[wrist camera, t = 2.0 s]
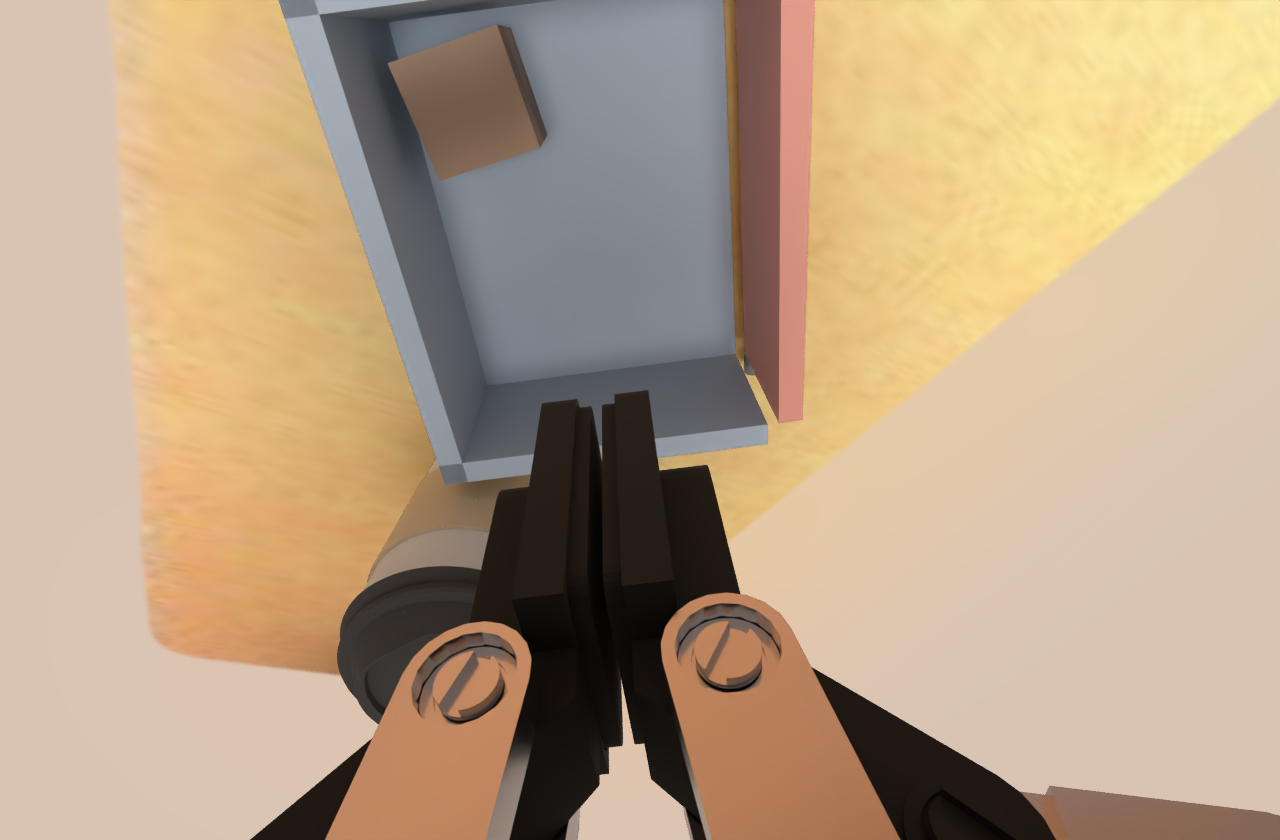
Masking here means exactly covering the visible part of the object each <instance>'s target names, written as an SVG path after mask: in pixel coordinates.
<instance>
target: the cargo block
mask: <svg viewBox="0 0 1280 840" xmlns="http://www.w3.org/2000/svg"><path fill="white" fill-rule="evenodd" d="M388 66H389V68H390V70H391V72H392V75H393V77H394V79H395V82H396V84H397V86H398V88H399V91H400V93H401V95H402V97H403V100H404V102H405V104H406V106H407V109H408V111H409V113H410V116H411V118H412V120H413V122H414V125H415V127H416V129H417V131H418V134H419V136H420V138H421V140H422V143H423V145H424V147H425V149H426V152H427V154H428V156H429V159H430V161H431V163H432V165H433V168H434V170H435V172H436V174H437V177H438V179H439V181H442V180H445V179H448V178H451V177H454V176H457V175H460V174H463V173H466V172H469V171H472V170H475V169H478V168H481V167H484V166H487V165H490V164H493V163H496V162H499V161H502V160H505V159H508V158H511V157H514V156H517V155H520V154H523V153H526V152H529V151H532V150H535V149H538V148H540V147H541V145H542V143H543V142H544V140H545V138H546V136H547V132H546V129H545V126H544V123H543V120H542V117H541V115H540V112H539V109H538V106H537V103H536V100H535V97H534V94H533V91H532V88H531V85H530V82H529V79H528V76H527V73H526V71H525V68H524V65H523V62H522V59H521V56H520V53H519V50H518V47H517V44H516V41H515V38H514V35H513V32H512V30H511V27H506V26H501V25H494V26H491V27H489V28H486V29H483V30H480V31H477V32H475V33H472V34H469V35H466V36H463V37H460V38H458V39H455V40H452V41H449V42H446V43H444V44H441V45H438V46H435V47H432V48H429V49H427V50H424V51H421V52H418V53H415V54H413V55H410V56H407V57H404V58H401V59H399V60H396V61H393V62H390V63H388Z"/></svg>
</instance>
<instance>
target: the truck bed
mask: <svg viewBox="0 0 1280 840" xmlns="http://www.w3.org/2000/svg"><path fill="white" fill-rule="evenodd" d="M279 3H280V6H281V9H282V12H283V15H284V18H285V20H286V23H287V26H288V29H289V32H290V35H291V38H292V41H293V44H294V47H295V50H296V52H297V55H298V58H299V61H300V64H301V67H302V70H303V73H304V76H305V79H306V82H307V84H308V87H309V90H310V93H311V96H312V99H313V102H314V105H315V108H316V111H317V113H318V116H319V119H320V122H321V125H322V128H323V131H324V134H325V137H326V140H327V143H328V145H329V148H330V151H331V154H332V157H333V160H334V163H335V166H336V169H337V172H338V175H339V177H340V180H341V183H342V186H343V189H344V192H345V195H346V198H347V201H348V204H349V207H350V209H351V212H352V215H353V218H354V221H355V224H356V227H357V230H358V233H359V236H360V239H361V241H362V244H363V247H364V250H365V253H366V256H367V259H368V262H369V265H370V268H371V271H372V273H373V276H374V279H375V282H376V285H377V288H378V291H379V294H380V297H381V300H382V303H383V305H384V308H385V311H386V314H387V317H388V320H389V323H390V326H391V329H392V332H393V335H394V337H395V340H396V343H397V346H398V349H399V352H400V355H401V358H402V361H403V364H404V367H405V369H406V372H407V375H408V378H409V381H410V384H411V387H412V390H413V393H414V396H415V398H416V401H417V404H418V407H419V410H420V413H421V416H422V419H423V422H424V425H425V428H426V430H427V433H428V436H429V439H430V442H431V445H432V448H433V451H434V454H435V457H436V460H437V462H438V465H439V468H440V471H441V474H442V477H443V480H444V483H445V485H449V484H457V483H465V482H473V481H481V480H488V479H496V478H504V477H512V476H520V475H528V474H531V469H532V463H533V456H534V450H535V444H536V437H537V431H538V424H539V418H540V412H541V406H542V403H547V402H555V401H563V400H571V399H577V400H578V402H579V406H580V407H588V406H592V409H593V414H594V419H595V425H596V430H597V436H598V442H599V447H600V453H601V459H602V405H605V404H613V403H615V401H614V394H620V393H628V392H636V391H644V390H648V392H649V399H650V406H651V414H652V421H653V428H654V436H655V443H656V451H657V458H662V457H670V456H678V455H686V454H694V453H702V452H710V451H717V450H725V449H733V448H741V447H749V446H757V445H765V444H768V424H767V422H766V420H765V418H764V415H763V413H762V411H761V409H760V407H759V404H758V402H757V400H756V398H755V396H754V393H753V391H752V389H751V387H750V385H749V382H748V380H747V378H746V376H745V373H746V374H748V375H755V373H754V371H753V369H752V367H751V364H750V362H749V360H748V358H747V356H746V355H745V356H744V371H745V373H744V371H743V369H742V367H741V365H740V362H739V360H738V358H737V356H736V347H735V318H734V289H733V260H732V231H731V202H730V173H729V144H728V115H727V86H726V57H725V28H724V0H279ZM494 25H501V26H506V27H511V30H512V32H513V35H514V38H515V41H516V44H517V47H518V50H519V53H520V56H521V59H522V62H523V65H524V68H525V71H526V73H527V76H528V79H529V82H530V85H531V88H532V91H533V94H534V97H535V100H536V103H537V106H538V109H539V112H540V115H541V117H542V120H543V123H544V126H545V129H546V132H547V136H546V138H545V140H544V142H543V143H542V145H541V147H540V148H538V149H535V150H532V151H529V152H526V153H523V154H520V155H517V156H514V157H511V158H508V159H505V160H502V161H499V162H496V163H493V164H490V165H487V166H484V167H481V168H478V169H475V170H472V171H469V172H466V173H463V174H460V175H457V176H454V177H451V178H448V179H445V180H442V181H439V179H438V177H437V174H436V172H435V170H434V168H433V165H432V163H431V161H430V159H429V156H428V154H427V152H426V149H425V147H424V145H423V143H422V140H421V138H420V136H419V134H418V131H417V129H416V127H415V125H414V122H413V120H412V118H411V116H410V113H409V111H408V109H407V106H406V104H405V102H404V100H403V97H402V95H401V93H400V91H399V88H398V86H397V84H396V82H395V79H394V77H393V75H392V72H391V70H390V68H389V66H388V63H390V62H393V61H396V60H399V59H401V58H404V57H407V56H410V55H413V54H415V53H418V52H421V51H424V50H427V49H429V48H432V47H435V46H438V45H441V44H444V43H446V42H449V41H452V40H455V39H458V38H460V37H463V36H466V35H469V34H472V33H475V32H477V31H480V30H483V29H486V28H489V27H491V26H494Z"/></svg>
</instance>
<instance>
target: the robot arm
mask: <svg viewBox="0 0 1280 840" xmlns="http://www.w3.org/2000/svg"><path fill="white" fill-rule="evenodd" d="M614 401H615V403H613V404H605V405H602V459H601V453H600V447H599V442H598V436H597V430H596V425H595V419H594V414H593V409H592V406H588V407H580V406H579V402H578V400H577V399H571V400H563V401H555V402H547V403H542V406H541V412H540V418H539V424H538V431H537V437H536V444H535V450H534V456H533V463H532V469H531V476H530V482H529V487H521V488H513V489H505V490H501V491H500V492H499V493H498V496H497V499H496V504H495V508H494V513H493V517H492V522H491V526H490V531H489V535H488V540H487V544H486V549H485V554H484V558H483V563H482V567H481V572H480V576H479V581H478V585H477V590H476V594H475V599H474V603H473V608H472V612H471V617H470V621H469V623H468V624H464V625H461V626H459V627H456V628H453V629H451V630H448V631H446V632H444V633H443V634H441V635H439V636H438V637H436V638H435V639H433V640H432V641H430V642H428V643H427V644H426V645H425V646H424V647H423V648H422V649H421V650H420V651H419V652H418V653H417V654H416V655H415V656H414V657H413V659H412V660H411V662H410V663H409V665H408V666H407V668H406V670H405V671H404V673H403V674H402V676H401V678H400V680H399V683H398V685H397V687H396V689H395V691H394V693H393V695H392V698H391V700H390V702H389V704H388V706H387V708H386V710H385V713H384V715H383V717H382V719H381V721H380V723H379V725H378V728H377V730H376V732H375V734H374V736H373V738H372V739H371V740H370V741H368V742H367V743H366V744H365V745H364V746H362V747H361V748H360V749H359V750H358V751H356V752H355V753H354V754H353V755H351V756H350V757H349V758H348V759H347V760H345V761H344V762H343V763H342V764H341V765H340V766H338V767H337V768H336V769H335V770H333V771H332V772H331V773H330V774H329V775H327V776H326V777H325V778H324V779H323V780H322V781H320V782H319V783H318V784H317V785H315V786H314V787H313V788H312V789H311V790H310V791H308V792H307V793H306V794H305V795H303V796H302V797H301V798H300V799H299V800H297V801H296V802H295V803H294V804H293V805H291V806H290V807H289V808H288V809H287V810H285V811H284V812H283V813H282V814H281V815H279V816H278V817H277V818H276V819H274V820H273V821H272V822H271V823H270V824H268V825H267V826H266V827H265V828H264V829H263V830H261V831H260V832H259V833H258V834H256V835H255V836H254V837H253V838H252V839H251V840H577V838H578V832H579V814H580V810H579V808H580V807H581V806H582V805H583V803H584V802H585V801H586V800H587V799H588V798H589V796H590V795H591V794H592V793H593V792H594V791H595V790H596V788H597V787H598V786H599V775H601V774H609V747H616V746H622V744H623V727H622V696H621V695H622V694H621V680H622V684H623V689H624V694H625V699H626V704H627V709H628V714H629V719H630V724H631V728H632V734H633V739H634V743H635V744H643V743H644V744H645V749H646V754H647V760H648V765H649V770H650V776H651V779H652V780H653V781H654V782H655V783H656V784H658V785H659V786H660V787H661V788H662V789H663V790H665V791H666V792H667V793H668V794H669V795H671V796H672V797H673V798H674V799H675V800H676V801H678V802H679V803H680V804H681V805H682V806H683V808H684V815H685V819H686V823H687V827H688V831H689V835H690V839H691V840H1280V816H1279V815H1275V814H1271V813H1268V812H1260V811H1253V810H1244V809H1236V808H1228V807H1220V806H1212V805H1203V804H1195V803H1186V802H1178V801H1170V800H1162V799H1154V798H1146V797H1138V796H1128V795H1121V794H1113V793H1105V792H1096V791H1088V790H1080V789H1072V788H1064V787H1055V786H1049V788H1048V790H1047V792H1046V794H1045V795H1042V794H1034V793H1026V792H1019V791H1018V790H1016V789H1015V788H1014V787H1012V786H1011V785H1009V784H1008V783H1007V782H1006V781H1004V780H1003V779H1001V778H1000V777H999V776H997V775H996V774H994V773H992V772H990V771H989V770H987V769H985V768H984V767H982V766H980V765H978V764H977V763H975V762H973V761H972V760H970V759H968V758H967V757H965V756H963V755H961V754H960V753H958V752H956V751H955V750H953V749H951V748H949V747H948V746H946V745H944V744H943V743H940V742H939V741H937V740H936V739H934V738H932V737H930V736H929V735H927V734H925V733H924V732H922V731H920V730H918V729H917V728H915V727H913V726H912V725H910V724H908V723H906V722H905V721H903V720H901V719H899V718H898V717H896V716H894V715H893V714H891V713H889V712H888V711H886V710H884V709H882V708H881V707H879V706H877V705H876V704H874V703H872V702H870V701H869V700H867V699H865V698H863V697H862V696H860V695H858V694H857V693H855V692H853V691H851V690H850V689H848V688H846V687H845V686H843V685H841V684H840V683H838V682H836V681H834V680H833V679H831V678H829V677H827V676H826V675H824V674H822V673H821V672H819V671H817V670H816V669H814V668H812V667H811V666H810V664H809V662H808V660H807V658H806V656H805V654H804V652H803V650H802V648H801V646H800V644H799V642H798V640H797V638H796V637H795V635H794V633H793V631H792V629H791V628H790V626H789V625H788V624H787V622H786V621H785V619H784V618H783V617H782V615H781V614H780V613H779V612H777V611H776V610H775V609H773V608H772V607H770V606H769V605H768V604H767V603H765V602H763V601H760V600H758V599H755V598H753V597H750V596H748V595H741V594H740V591H739V587H738V583H737V579H736V575H735V571H734V567H733V563H732V559H731V555H730V551H729V547H728V543H727V539H726V535H725V531H724V526H723V522H722V518H721V514H720V510H719V506H718V502H717V498H716V494H715V490H714V486H713V482H712V478H711V474H710V471H709V468H708V466H707V465H702V466H693V467H685V468H677V469H669V470H661V471H659V465H658V458H657V451H656V443H655V436H654V428H653V421H652V414H651V406H650V399H649V392H648V390H644V391H636V392H628V393H620V394H614Z"/></svg>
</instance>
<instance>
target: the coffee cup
mask: <svg viewBox="0 0 1280 840" xmlns="http://www.w3.org/2000/svg"><path fill="white" fill-rule="evenodd" d="M530 476H531V474H528V475H520V476H512V477H504V478H496V479H488V480H481V481H473V482H465V483H457V484H449V485H445V483H444V480H443V477H442V474H441V471H440V468H439V465H438V462H437V460H436V459H435V461H434V463H433V464H432V466H431V468H430V470H429V472H428V474H427V475H426V477H425V478H424V480H423V481H422V482H421V483H420V485H419V486H418V488H417V489H416V491H415V493H414V495H413V496H412V498H411V500H410V502H409V503H408V505H407V507H406V509H405V510H404V512H403V514H402V516H401V517H400V519H399V521H398V523H397V524H396V526H395V528H394V530H393V531H392V533H391V535H390V537H389V538H388V540H387V542H386V544H385V545H384V547H383V549H382V551H381V552H380V554H379V556H378V558H377V559H376V561H375V563H374V565H373V566H372V568H371V571H370V573H369V576H368V581H367V585H366V587H365V589H364V591H363V592H361V593H360V594H359V595H358V596H357V597H356V598H355V599H354V600H353V602H352V603H351V604H350V606H349V607H348V609H347V610H346V612H345V614H344V617H343V620H342V623H341V628H340V643H339V646H338V652H337V662H338V668H339V671H340V674H341V676H342V678H343V680H344V683H345V684H346V686H347V688H348V689H349V690H350V692H351V693H352V694H353V695H354V696H355V698H356V699H357V700H358V701H359V704H360V706H361V707H362V709H363V710H364V711H365V713H366V714H367V715H368V716H369V717H370V718H371V719H372V720H374V721H375V722H376V723H377V724H379V723H380V721H381V719H382V717H383V715H384V713H385V710H386V708H387V706H388V704H389V702H390V700H391V698H392V695H393V693H394V691H395V689H396V687H397V685H398V683H399V680H400V678H401V676H402V674H403V673H404V671H405V670H406V668H407V666H408V665H409V663H410V662H411V660H412V659H413V657H414V656H415V655H416V654H417V653H418V652H419V651H420V650H421V649H422V648H423V647H424V646H425V645H426V644H427V643H428V642H430V641H432V640H433V639H435V638H436V637H438V636H439V635H441V634H443V633H444V632H446V631H448V630H451V629H453V628H456V627H459V626H461V625H464V624H468V623H469V621H470V617H471V612H472V608H473V603H474V599H475V594H476V590H477V585H478V581H479V576H480V572H481V567H482V563H483V558H484V554H485V549H486V544H487V540H488V535H489V531H490V526H491V522H492V517H493V513H494V508H495V504H496V499H497V496H498V493H499V492H500V491H501V490H505V489H513V488H521V487H529V482H530Z"/></svg>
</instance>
